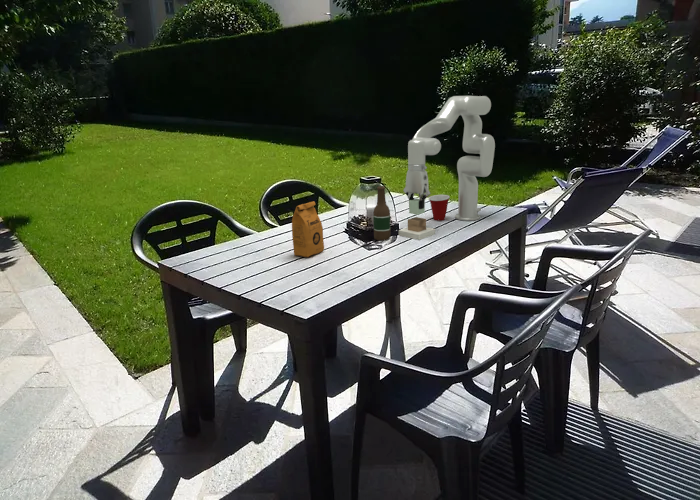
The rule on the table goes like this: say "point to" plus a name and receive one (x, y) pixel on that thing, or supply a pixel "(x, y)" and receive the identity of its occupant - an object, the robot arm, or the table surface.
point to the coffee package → (307, 231)
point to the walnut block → (416, 224)
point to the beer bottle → (381, 217)
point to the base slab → (417, 233)
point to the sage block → (415, 207)
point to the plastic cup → (439, 206)
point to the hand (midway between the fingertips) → (416, 207)
